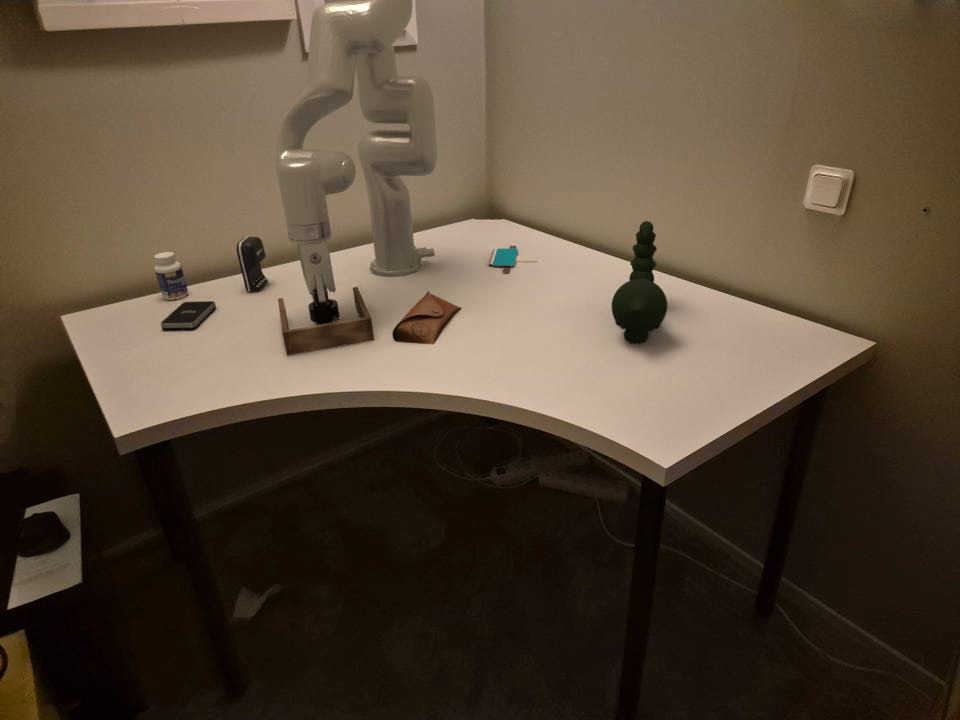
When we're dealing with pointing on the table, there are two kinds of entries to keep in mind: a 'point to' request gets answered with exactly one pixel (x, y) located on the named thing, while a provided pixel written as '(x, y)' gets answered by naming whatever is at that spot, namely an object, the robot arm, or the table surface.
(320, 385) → the table surface
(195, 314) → the external hard drive
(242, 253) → the battery charger
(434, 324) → the sunglasses case
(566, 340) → the table surface
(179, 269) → the pill bottle
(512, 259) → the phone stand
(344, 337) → the cubby
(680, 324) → the table surface
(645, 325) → the dark green bulbous piece
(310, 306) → the black lugged cup
